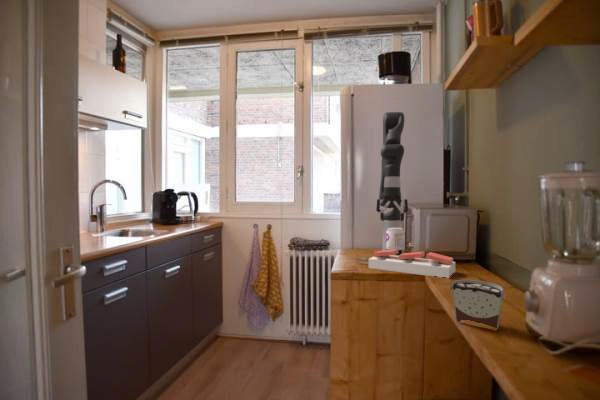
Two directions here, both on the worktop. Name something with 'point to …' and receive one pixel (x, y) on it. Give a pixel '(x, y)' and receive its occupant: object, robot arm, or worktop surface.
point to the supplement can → (395, 240)
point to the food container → (477, 301)
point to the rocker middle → (411, 255)
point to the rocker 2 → (439, 258)
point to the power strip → (411, 265)
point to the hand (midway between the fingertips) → (392, 221)
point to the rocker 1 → (386, 252)
